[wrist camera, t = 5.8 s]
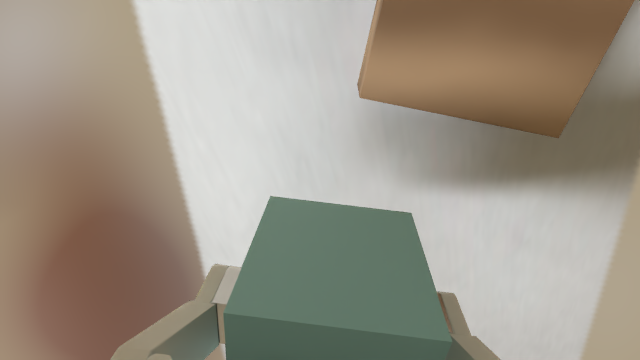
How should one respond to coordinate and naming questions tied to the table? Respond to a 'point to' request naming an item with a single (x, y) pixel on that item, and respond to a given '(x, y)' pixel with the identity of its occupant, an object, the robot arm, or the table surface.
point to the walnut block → (489, 57)
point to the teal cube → (334, 288)
